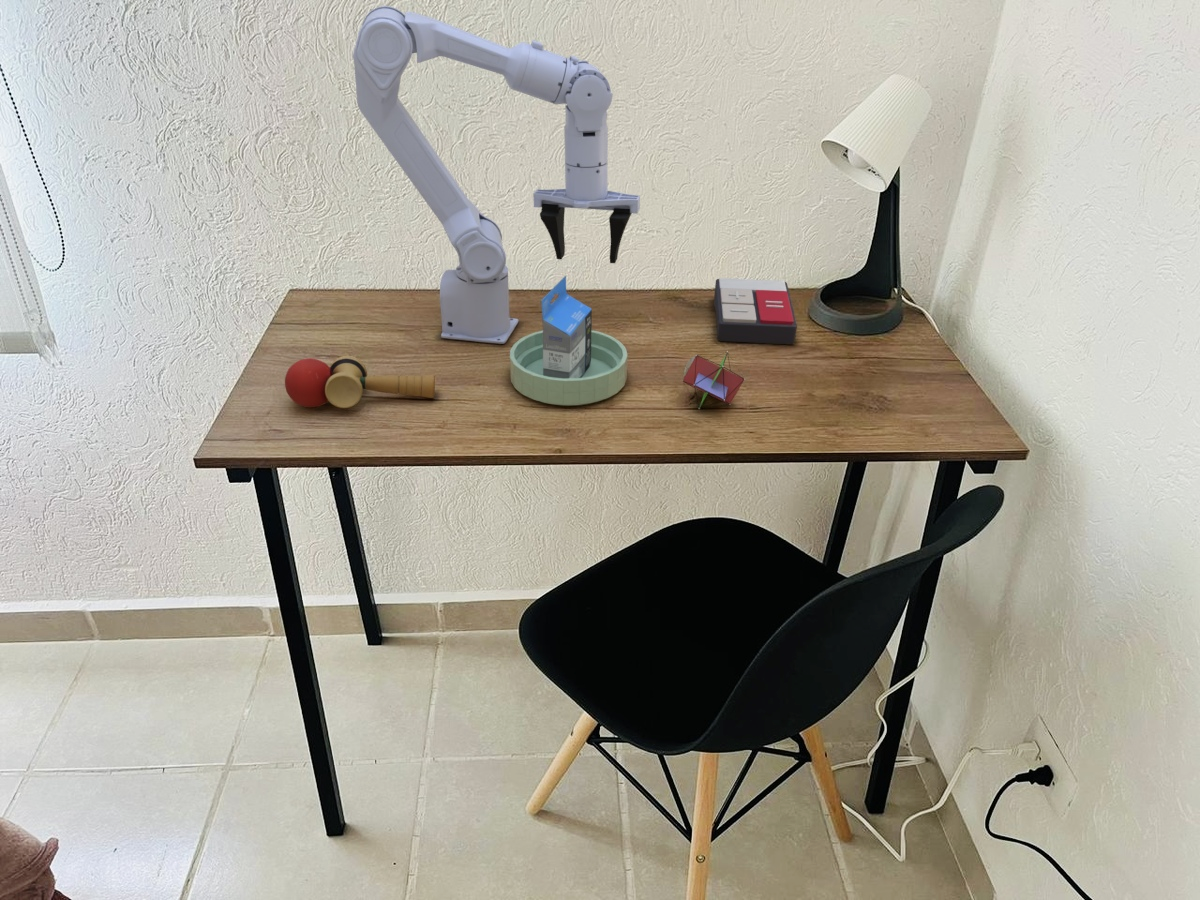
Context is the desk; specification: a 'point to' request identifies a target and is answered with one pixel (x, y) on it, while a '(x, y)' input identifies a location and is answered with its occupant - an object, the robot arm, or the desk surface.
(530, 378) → the bowl
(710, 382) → the geometric puzzle
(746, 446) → the desk surface
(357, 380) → the kendama
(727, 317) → the calculator
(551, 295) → the tape cartridge
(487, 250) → the robot arm
